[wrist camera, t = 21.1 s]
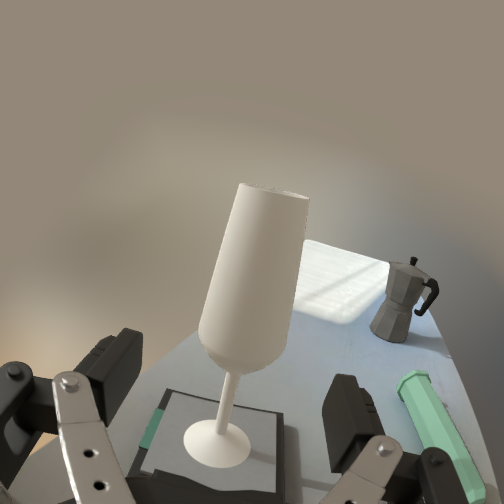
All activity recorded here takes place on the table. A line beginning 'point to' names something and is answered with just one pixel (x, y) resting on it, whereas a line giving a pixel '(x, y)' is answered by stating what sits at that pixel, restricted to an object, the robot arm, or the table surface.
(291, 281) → the champagne flute
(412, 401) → the container
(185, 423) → the scale
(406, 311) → the coffeepot
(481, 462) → the table surface
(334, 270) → the table surface
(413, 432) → the table surface
